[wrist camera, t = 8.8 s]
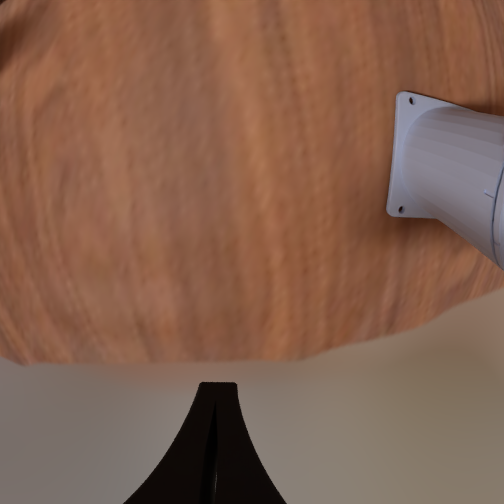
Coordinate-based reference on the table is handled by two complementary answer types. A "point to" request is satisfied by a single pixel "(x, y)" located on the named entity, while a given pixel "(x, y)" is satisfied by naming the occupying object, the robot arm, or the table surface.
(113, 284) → the table surface
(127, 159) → the table surface
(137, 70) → the table surface
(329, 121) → the table surface
